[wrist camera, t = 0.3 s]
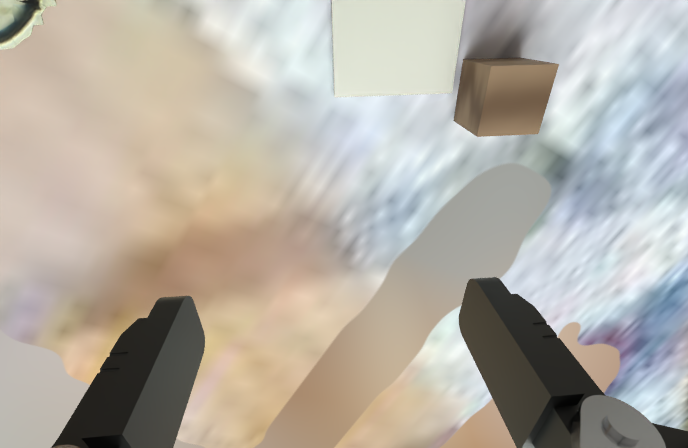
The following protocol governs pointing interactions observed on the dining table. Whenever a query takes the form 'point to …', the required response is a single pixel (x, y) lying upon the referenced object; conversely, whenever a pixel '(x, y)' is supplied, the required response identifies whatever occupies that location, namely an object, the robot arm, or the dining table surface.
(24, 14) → the decorative vase
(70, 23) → the dining table surface
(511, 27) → the dining table surface
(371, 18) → the plate
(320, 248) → the dining table surface
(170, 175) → the dining table surface
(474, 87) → the walnut cube
